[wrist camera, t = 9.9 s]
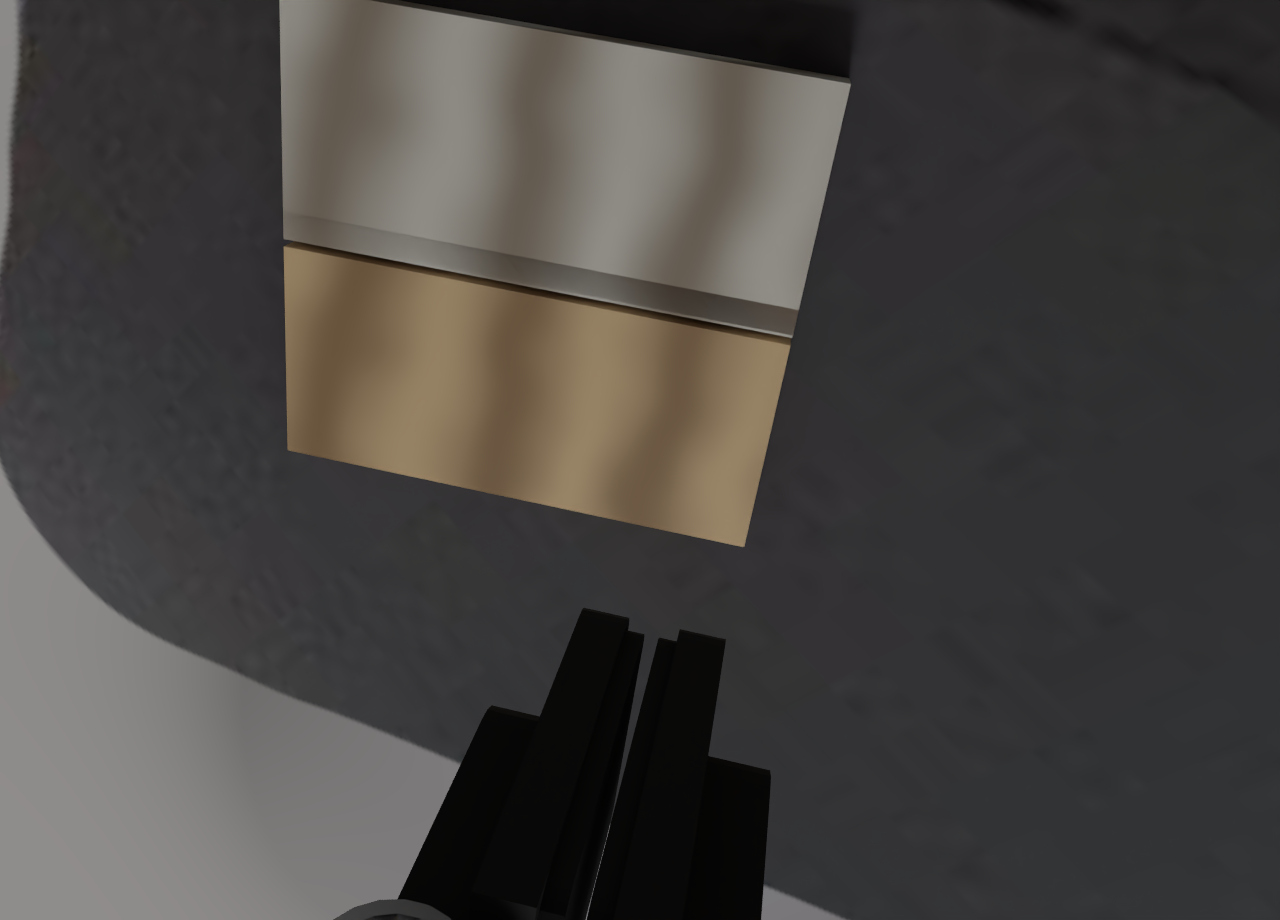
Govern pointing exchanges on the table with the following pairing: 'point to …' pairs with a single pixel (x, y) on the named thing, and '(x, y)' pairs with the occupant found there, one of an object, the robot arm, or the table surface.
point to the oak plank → (528, 392)
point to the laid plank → (556, 158)
